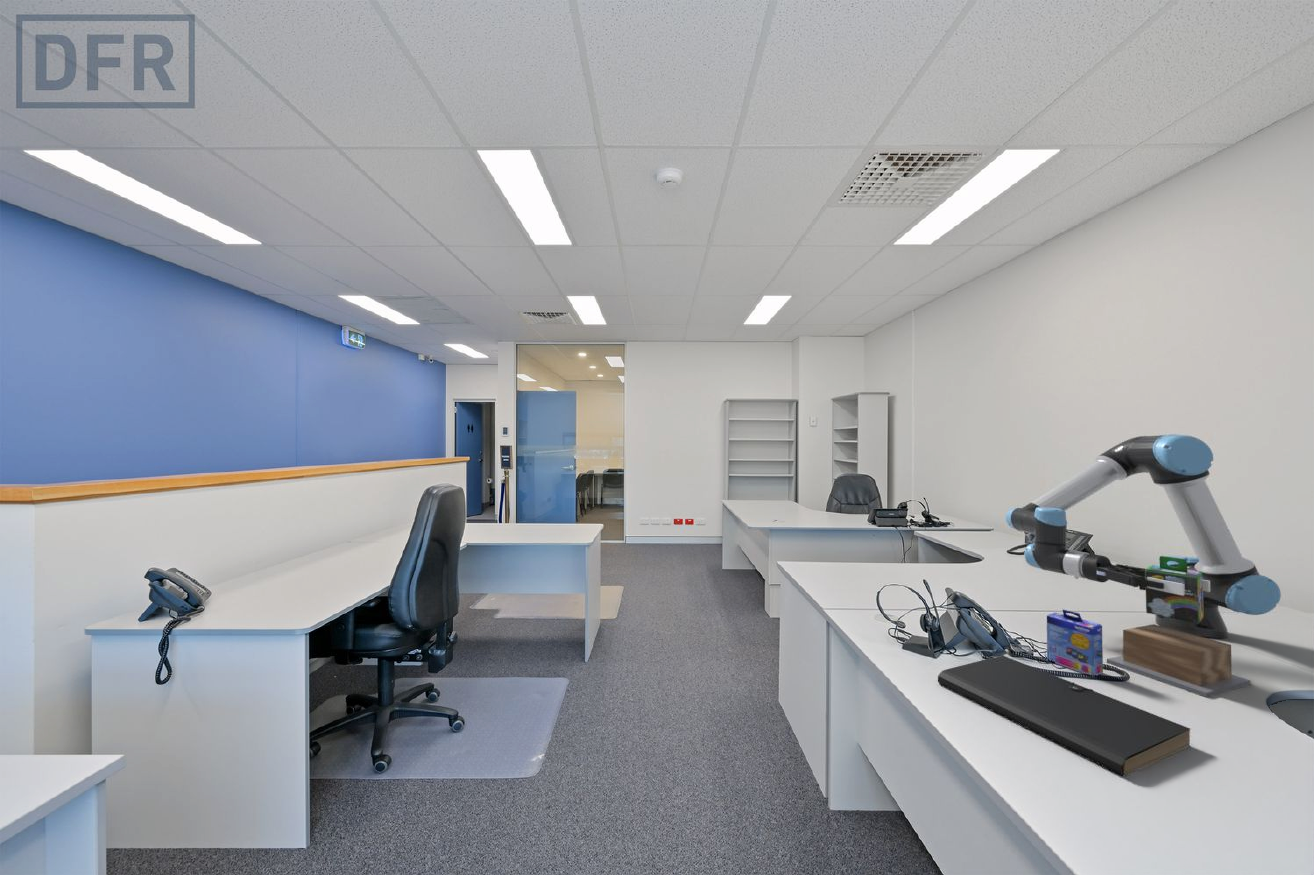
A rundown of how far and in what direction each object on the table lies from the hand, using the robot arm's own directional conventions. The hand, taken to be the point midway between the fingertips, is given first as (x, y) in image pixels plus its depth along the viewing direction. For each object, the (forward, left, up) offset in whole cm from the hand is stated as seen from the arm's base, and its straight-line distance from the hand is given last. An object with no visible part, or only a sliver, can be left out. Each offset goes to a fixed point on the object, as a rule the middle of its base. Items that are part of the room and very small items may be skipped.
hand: (1196, 588), depth 114 cm
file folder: (+52, -2, -23) cm, 57 cm away
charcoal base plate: (0, -4, -22) cm, 23 cm away
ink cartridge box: (+22, -14, -23) cm, 34 cm away
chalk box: (0, -4, -8) cm, 9 cm away
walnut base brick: (0, -4, -22) cm, 23 cm away
